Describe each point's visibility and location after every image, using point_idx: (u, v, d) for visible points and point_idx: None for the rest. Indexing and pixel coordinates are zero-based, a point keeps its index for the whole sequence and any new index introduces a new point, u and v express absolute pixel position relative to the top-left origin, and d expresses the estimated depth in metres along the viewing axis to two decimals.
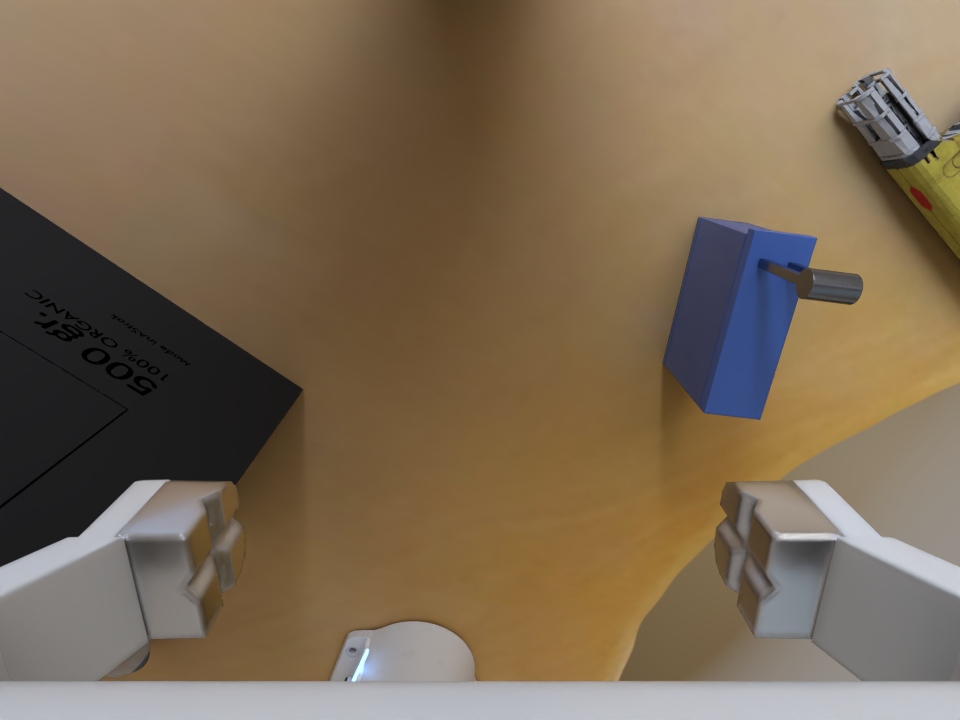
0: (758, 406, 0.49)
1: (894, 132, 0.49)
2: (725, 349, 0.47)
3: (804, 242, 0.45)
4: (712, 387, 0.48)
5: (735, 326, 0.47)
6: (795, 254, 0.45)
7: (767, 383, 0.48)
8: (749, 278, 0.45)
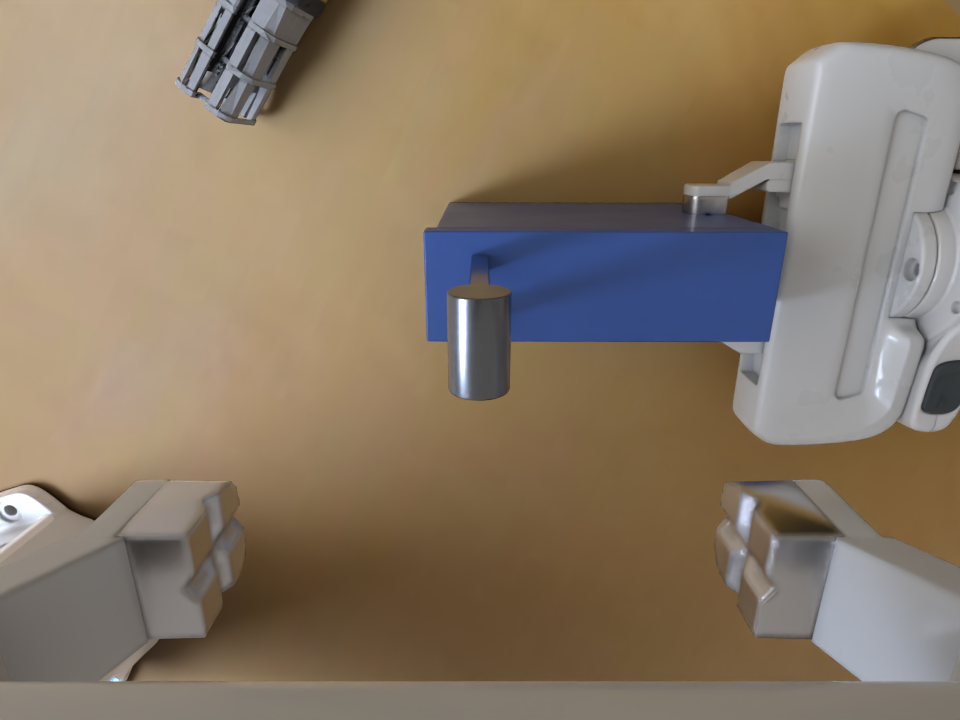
0: (759, 244, 0.25)
1: (258, 43, 0.29)
2: (641, 335, 0.26)
3: (434, 252, 0.25)
4: (715, 339, 0.26)
5: (597, 329, 0.26)
6: (457, 261, 0.25)
7: (709, 241, 0.25)
8: None
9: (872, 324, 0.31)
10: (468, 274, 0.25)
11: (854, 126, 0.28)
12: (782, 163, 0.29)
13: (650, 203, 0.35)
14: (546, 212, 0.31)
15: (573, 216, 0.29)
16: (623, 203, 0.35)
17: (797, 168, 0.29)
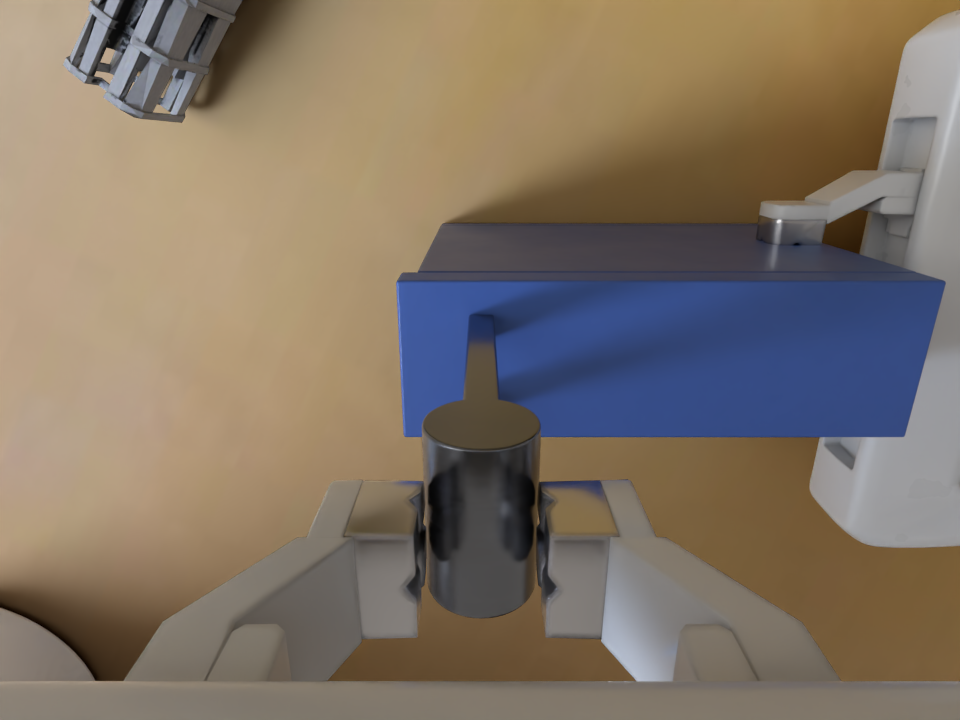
0: (901, 299, 0.16)
1: (173, 7, 0.21)
2: (717, 429, 0.18)
3: (413, 311, 0.17)
4: (826, 434, 0.18)
5: (653, 420, 0.18)
6: (447, 325, 0.17)
7: (827, 294, 0.16)
8: None
9: None
10: (464, 343, 0.17)
11: None
12: (905, 174, 0.21)
13: (704, 224, 0.27)
14: (572, 240, 0.23)
15: (611, 248, 0.21)
16: (669, 224, 0.27)
17: (928, 181, 0.20)
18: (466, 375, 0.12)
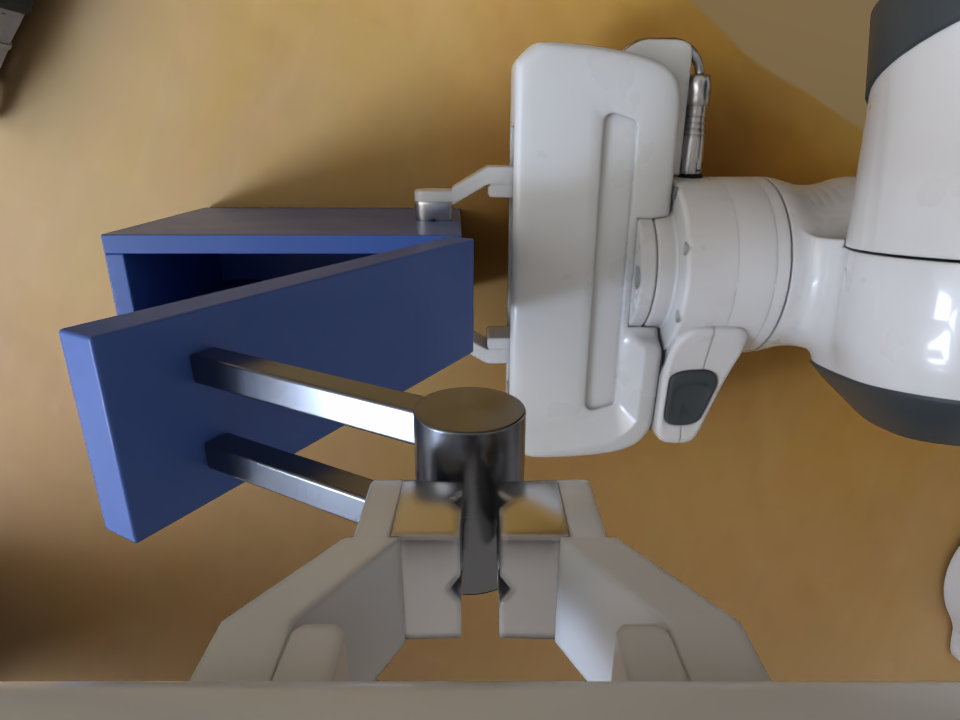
0: (459, 255, 0.23)
1: None
2: None
3: (120, 372, 0.12)
4: (443, 366, 0.23)
5: None
6: (166, 375, 0.13)
7: (429, 261, 0.21)
8: None
9: (614, 333, 0.30)
10: (189, 391, 0.14)
11: (563, 130, 0.27)
12: (501, 167, 0.28)
13: (414, 208, 0.34)
14: (273, 218, 0.30)
15: (287, 222, 0.28)
16: (386, 208, 0.34)
17: (513, 173, 0.28)
18: (349, 394, 0.11)
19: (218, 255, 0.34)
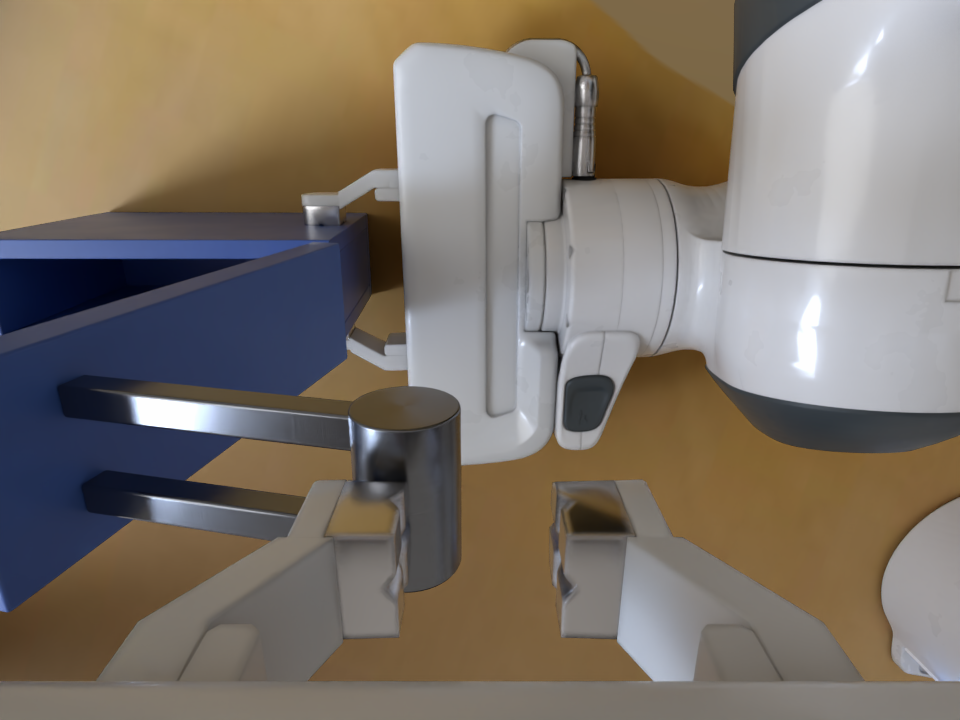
0: (327, 260, 0.22)
1: None
2: None
3: None
4: (321, 375, 0.23)
5: None
6: (31, 412, 0.11)
7: (300, 267, 0.21)
8: None
9: (512, 338, 0.30)
10: (59, 428, 0.12)
11: (444, 131, 0.26)
12: (386, 170, 0.27)
13: None
14: (160, 222, 0.29)
15: (168, 227, 0.27)
16: (290, 213, 0.34)
17: (398, 176, 0.27)
18: (269, 407, 0.11)
19: (120, 260, 0.34)
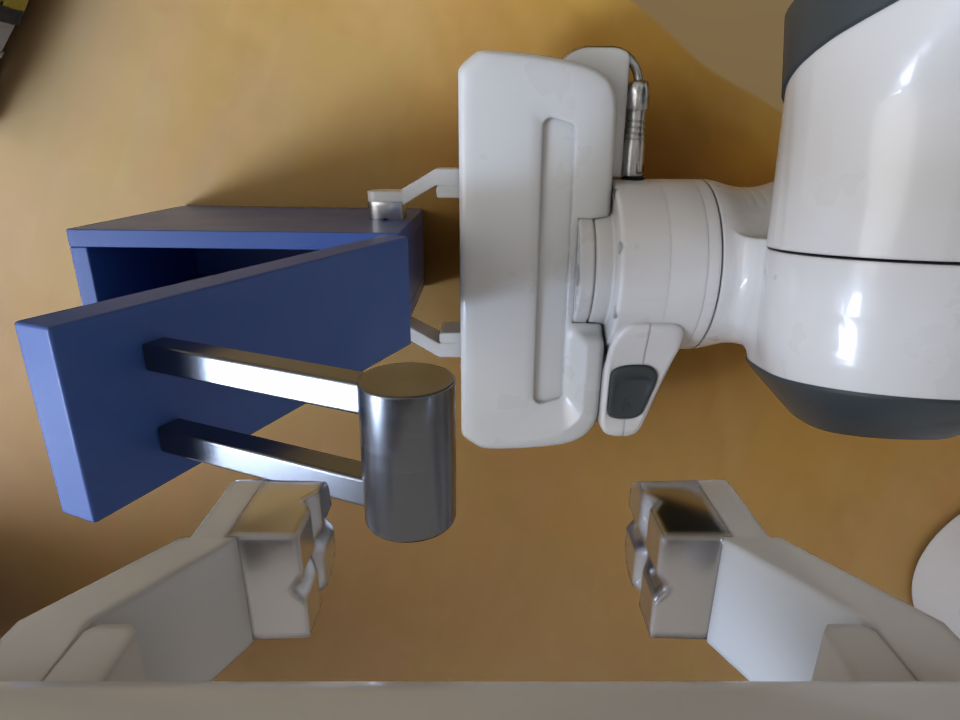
0: (395, 252, 0.24)
1: None
2: None
3: (76, 360, 0.13)
4: (383, 357, 0.25)
5: None
6: (120, 364, 0.14)
7: (366, 257, 0.23)
8: None
9: (560, 329, 0.32)
10: (142, 378, 0.15)
11: (503, 134, 0.28)
12: (448, 169, 0.29)
13: None
14: (236, 216, 0.31)
15: (246, 220, 0.30)
16: (351, 208, 0.36)
17: (459, 174, 0.29)
18: (297, 372, 0.13)
19: (193, 251, 0.36)
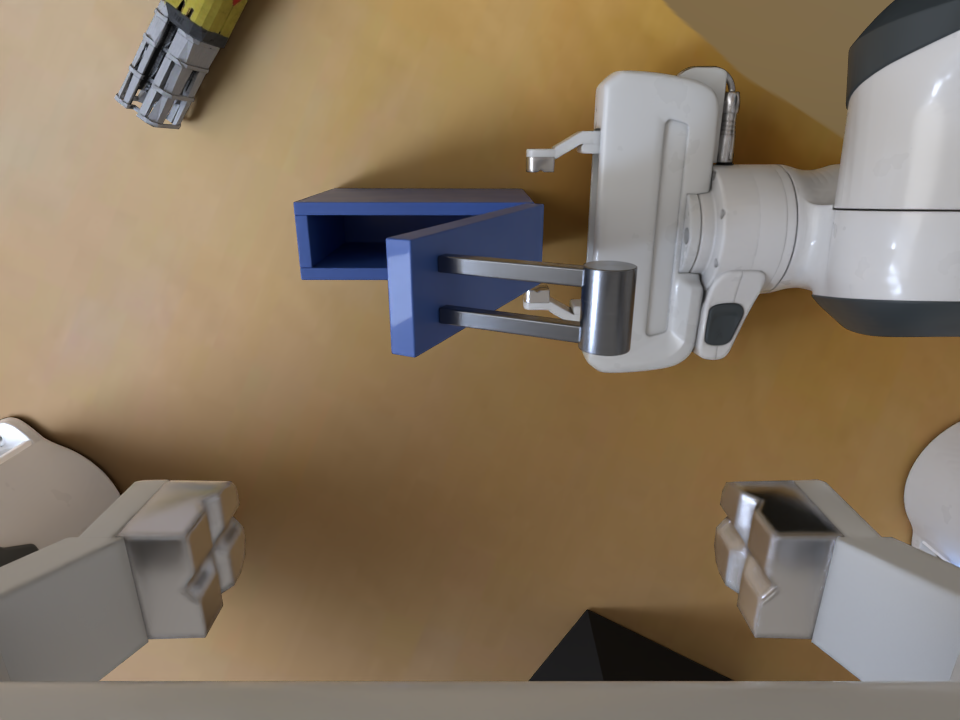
0: (537, 214, 0.35)
1: (174, 68, 0.40)
2: (505, 299, 0.32)
3: (417, 260, 0.23)
4: (527, 289, 0.35)
5: (490, 302, 0.30)
6: (429, 266, 0.24)
7: (524, 216, 0.33)
8: None
9: (668, 278, 0.42)
10: (436, 276, 0.25)
11: (635, 131, 0.38)
12: (591, 131, 0.39)
13: None
14: (393, 194, 0.41)
15: (407, 196, 0.40)
16: None
17: (599, 161, 0.39)
18: (543, 265, 0.23)
19: (343, 223, 0.46)
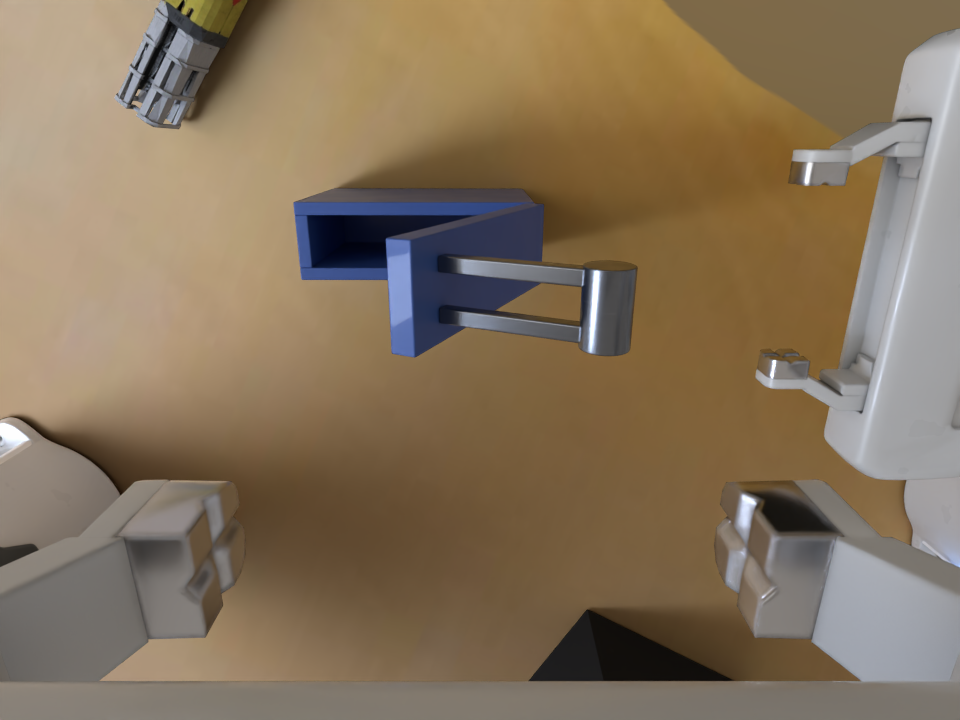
0: (537, 214, 0.35)
1: (174, 68, 0.40)
2: (505, 299, 0.32)
3: (417, 260, 0.23)
4: (527, 289, 0.35)
5: (490, 302, 0.30)
6: (429, 266, 0.24)
7: (524, 216, 0.33)
8: None
9: None
10: (436, 276, 0.25)
11: None
12: (916, 122, 0.25)
13: None
14: (393, 194, 0.41)
15: (407, 196, 0.40)
16: None
17: (925, 170, 0.25)
18: (543, 265, 0.23)
19: (343, 223, 0.46)
